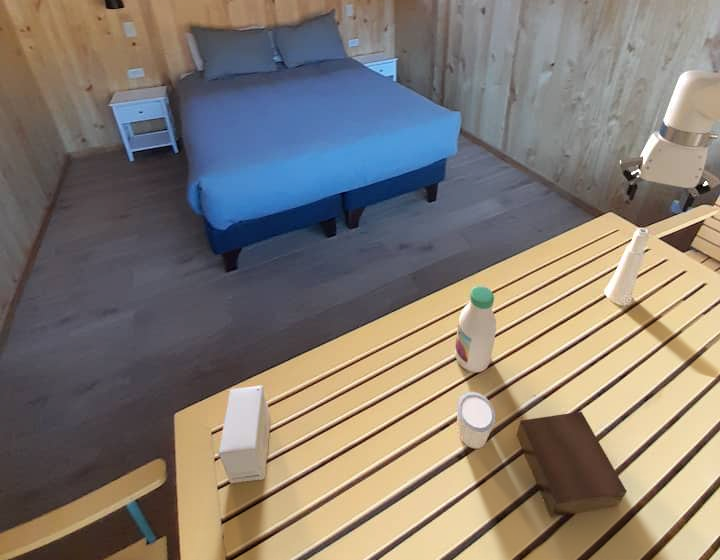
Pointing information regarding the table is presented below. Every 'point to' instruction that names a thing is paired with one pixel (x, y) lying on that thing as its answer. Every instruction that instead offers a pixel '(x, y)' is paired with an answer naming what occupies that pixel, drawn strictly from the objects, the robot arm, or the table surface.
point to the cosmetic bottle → (628, 270)
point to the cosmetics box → (245, 435)
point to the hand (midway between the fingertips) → (655, 202)
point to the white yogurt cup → (474, 419)
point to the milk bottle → (476, 331)
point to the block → (569, 464)
